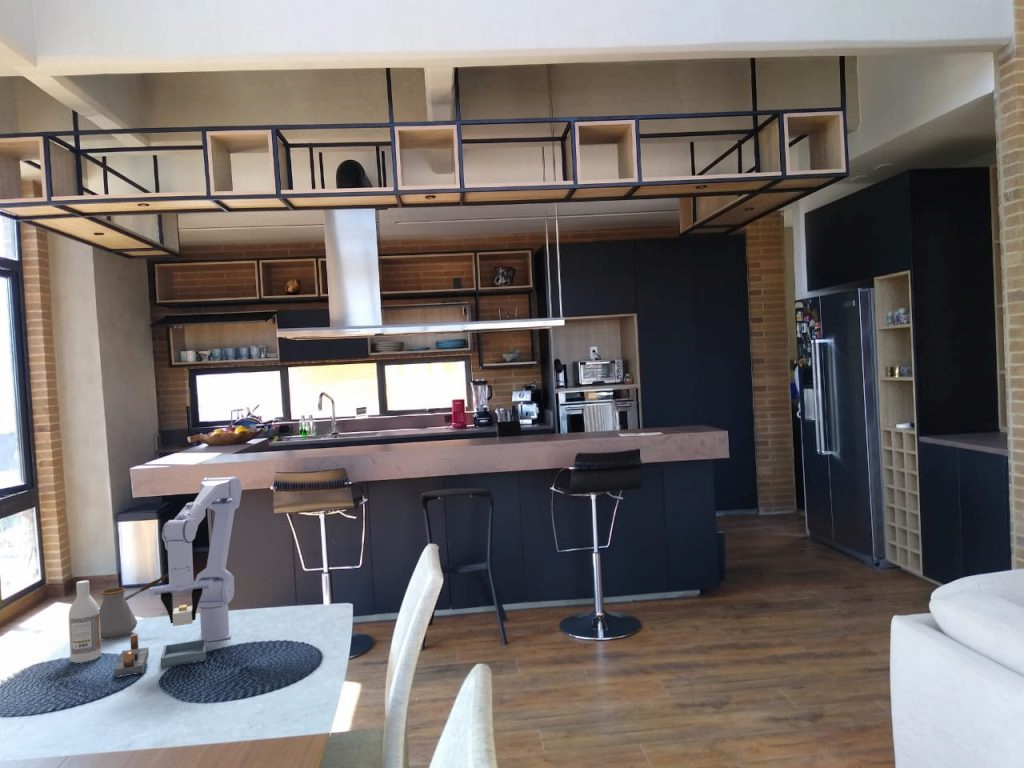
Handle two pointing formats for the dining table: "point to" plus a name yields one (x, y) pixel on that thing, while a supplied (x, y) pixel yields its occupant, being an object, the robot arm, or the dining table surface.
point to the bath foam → (84, 625)
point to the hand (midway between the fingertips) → (183, 620)
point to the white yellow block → (182, 615)
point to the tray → (183, 653)
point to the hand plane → (132, 659)
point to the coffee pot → (118, 612)
